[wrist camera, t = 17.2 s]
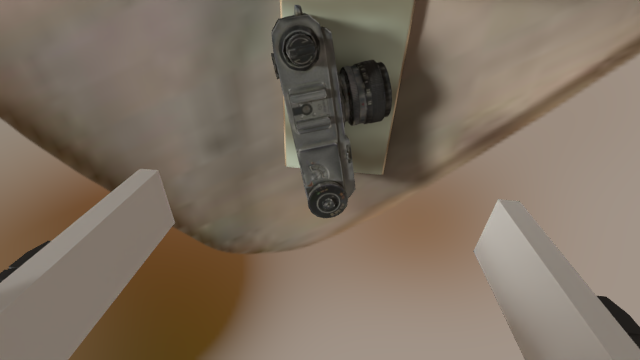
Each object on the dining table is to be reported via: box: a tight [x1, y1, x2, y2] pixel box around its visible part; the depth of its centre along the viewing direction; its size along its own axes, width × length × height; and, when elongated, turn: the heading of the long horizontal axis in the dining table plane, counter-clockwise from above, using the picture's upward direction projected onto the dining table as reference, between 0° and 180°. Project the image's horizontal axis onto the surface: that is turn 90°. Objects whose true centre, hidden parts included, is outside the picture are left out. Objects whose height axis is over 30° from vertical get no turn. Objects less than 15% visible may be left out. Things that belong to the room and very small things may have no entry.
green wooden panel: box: [280, 0, 416, 175], centre depth 22 cm, size 25×12×18 cm, turn 178°
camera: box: [271, 5, 392, 218], centre depth 26 cm, size 18×9×10 cm, turn 11°
